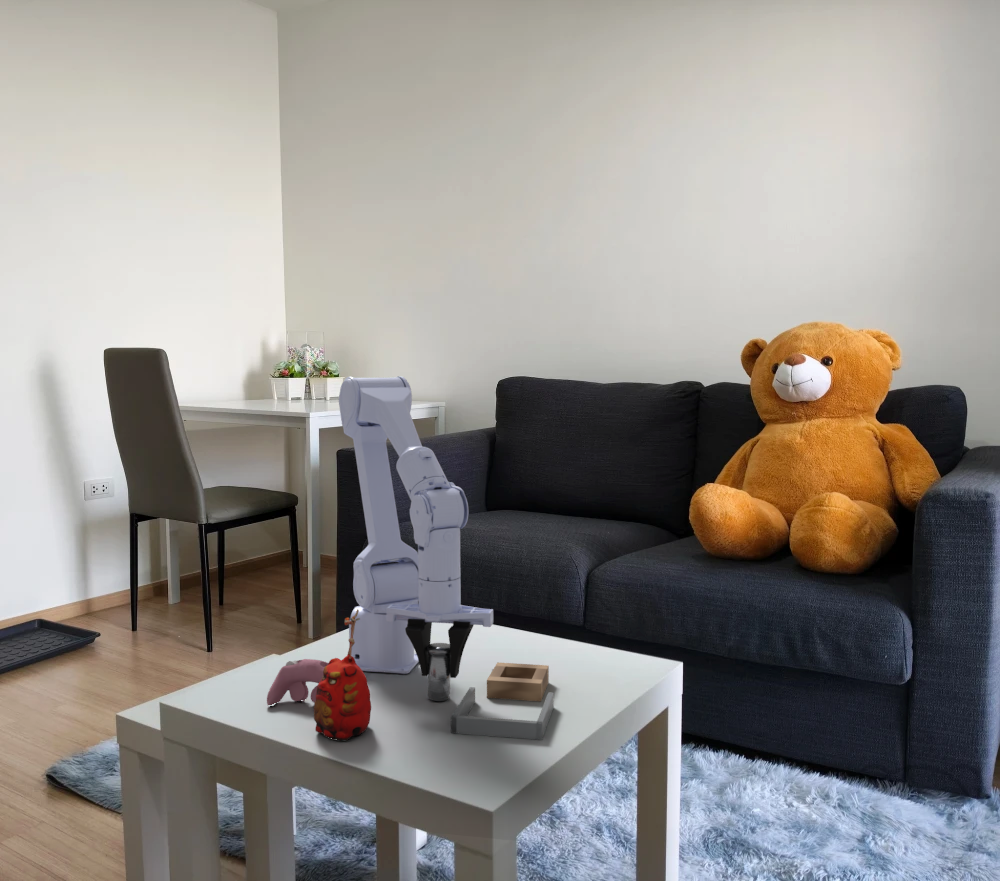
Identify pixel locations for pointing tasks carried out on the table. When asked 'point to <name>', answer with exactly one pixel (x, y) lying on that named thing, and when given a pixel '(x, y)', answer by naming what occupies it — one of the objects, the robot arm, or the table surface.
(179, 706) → the table surface
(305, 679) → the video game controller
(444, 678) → the silver cylindrical piece
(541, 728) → the grey u-shaped bracket
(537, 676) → the wooden square frame
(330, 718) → the red clay folk toy
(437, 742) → the table surface
